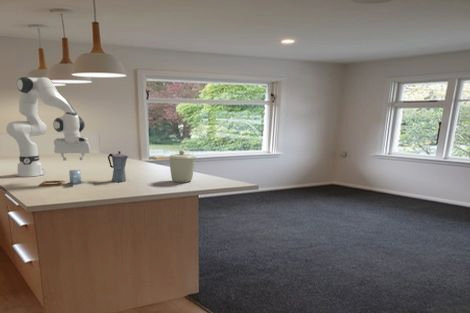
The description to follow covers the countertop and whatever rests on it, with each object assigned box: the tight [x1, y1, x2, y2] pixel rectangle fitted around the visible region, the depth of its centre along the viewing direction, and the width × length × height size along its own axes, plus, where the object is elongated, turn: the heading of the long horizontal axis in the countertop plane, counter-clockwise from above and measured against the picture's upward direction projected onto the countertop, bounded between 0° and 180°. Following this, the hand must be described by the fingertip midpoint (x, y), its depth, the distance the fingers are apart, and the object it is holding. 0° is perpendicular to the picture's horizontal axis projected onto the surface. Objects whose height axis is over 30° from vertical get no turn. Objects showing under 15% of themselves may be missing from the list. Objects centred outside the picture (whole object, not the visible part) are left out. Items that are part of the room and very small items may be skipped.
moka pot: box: [107, 151, 129, 183], centre depth 217 cm, size 10×15×20 cm, turn 79°
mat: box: [66, 180, 85, 186], centre depth 206 cm, size 10×10×1 cm
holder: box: [36, 179, 66, 188], centre depth 203 cm, size 17×13×2 cm
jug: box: [68, 169, 82, 185], centre depth 202 cm, size 13×6×8 cm, turn 24°
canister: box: [167, 149, 196, 183], centre depth 218 cm, size 18×18×21 cm
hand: (73, 160), depth 206 cm, fingers open, 8 cm apart
